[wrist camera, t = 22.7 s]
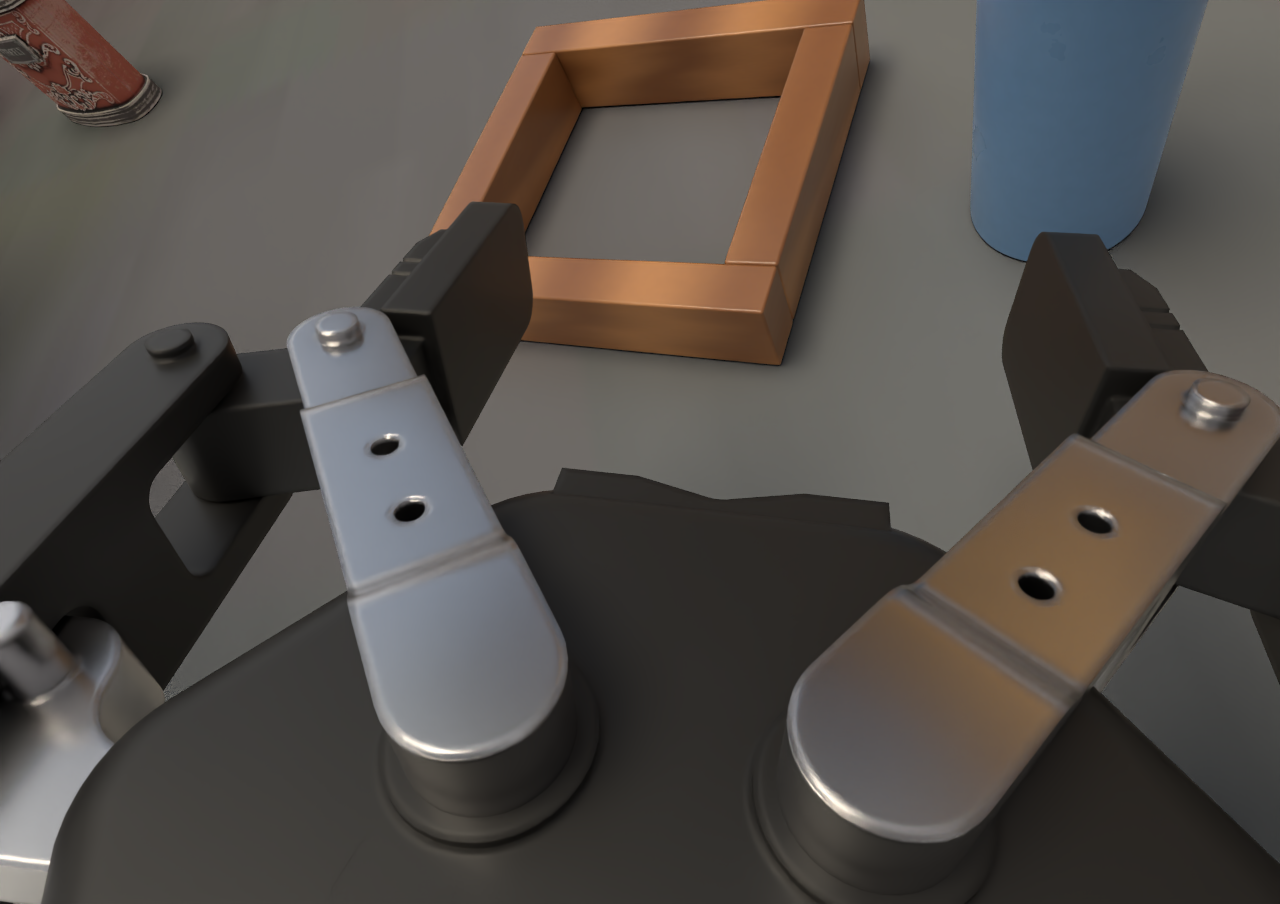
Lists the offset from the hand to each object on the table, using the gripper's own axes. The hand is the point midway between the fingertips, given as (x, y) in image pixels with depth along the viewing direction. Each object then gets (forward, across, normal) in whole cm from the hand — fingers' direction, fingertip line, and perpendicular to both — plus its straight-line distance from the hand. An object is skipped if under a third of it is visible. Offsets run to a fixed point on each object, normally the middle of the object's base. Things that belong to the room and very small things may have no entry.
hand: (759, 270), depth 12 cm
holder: (+13, +4, +5) cm, 15 cm away
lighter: (+29, +38, +8) cm, 49 cm away
